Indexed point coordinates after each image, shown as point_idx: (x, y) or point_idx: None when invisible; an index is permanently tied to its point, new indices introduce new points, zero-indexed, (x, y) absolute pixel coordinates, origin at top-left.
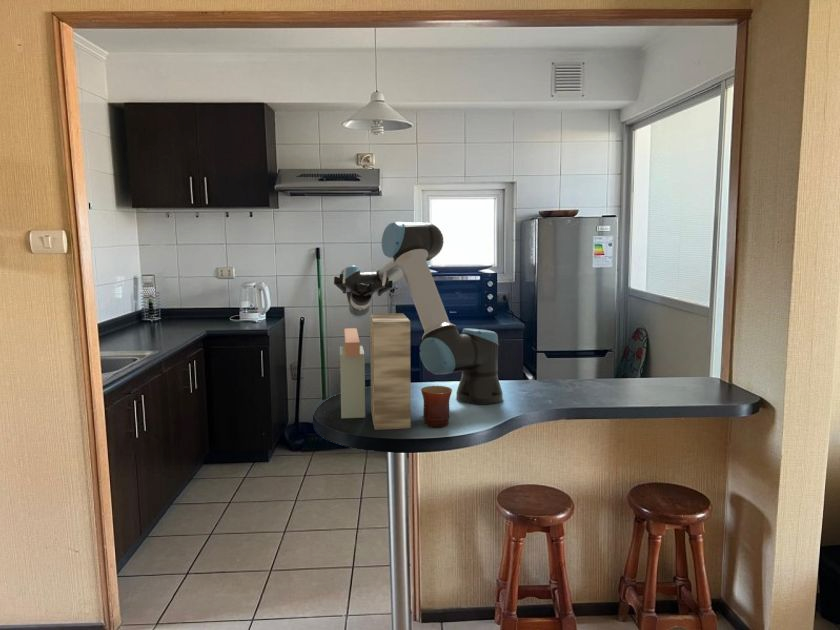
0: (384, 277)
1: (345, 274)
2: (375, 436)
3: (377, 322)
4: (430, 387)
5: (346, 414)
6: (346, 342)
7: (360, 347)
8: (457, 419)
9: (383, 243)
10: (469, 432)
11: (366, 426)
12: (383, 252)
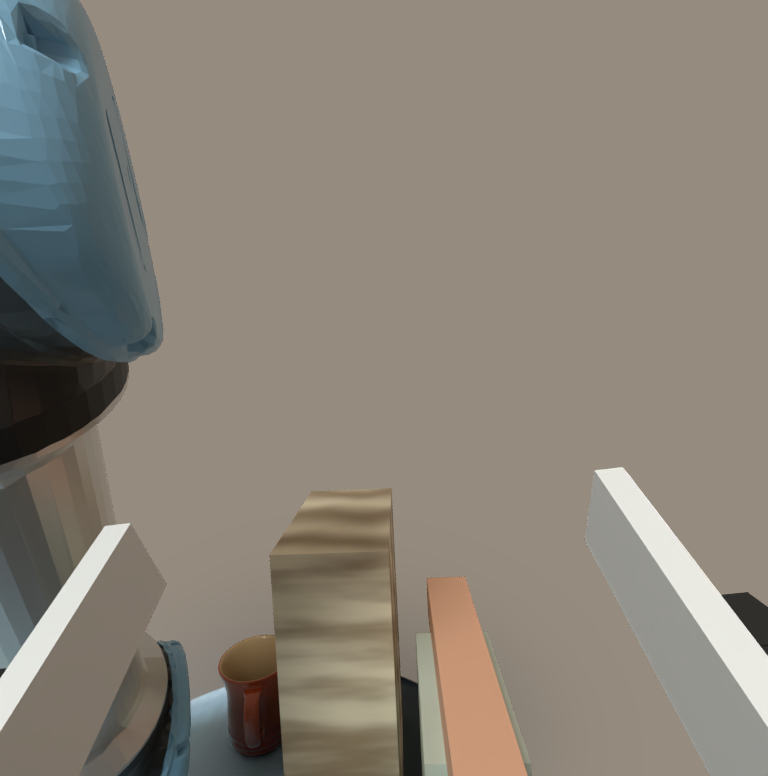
0: (158, 576)
1: (587, 527)
2: (402, 685)
3: (383, 489)
4: (255, 681)
5: None
6: (462, 578)
7: (432, 725)
8: (190, 768)
9: (123, 191)
10: (224, 689)
11: (419, 740)
12: (143, 301)
